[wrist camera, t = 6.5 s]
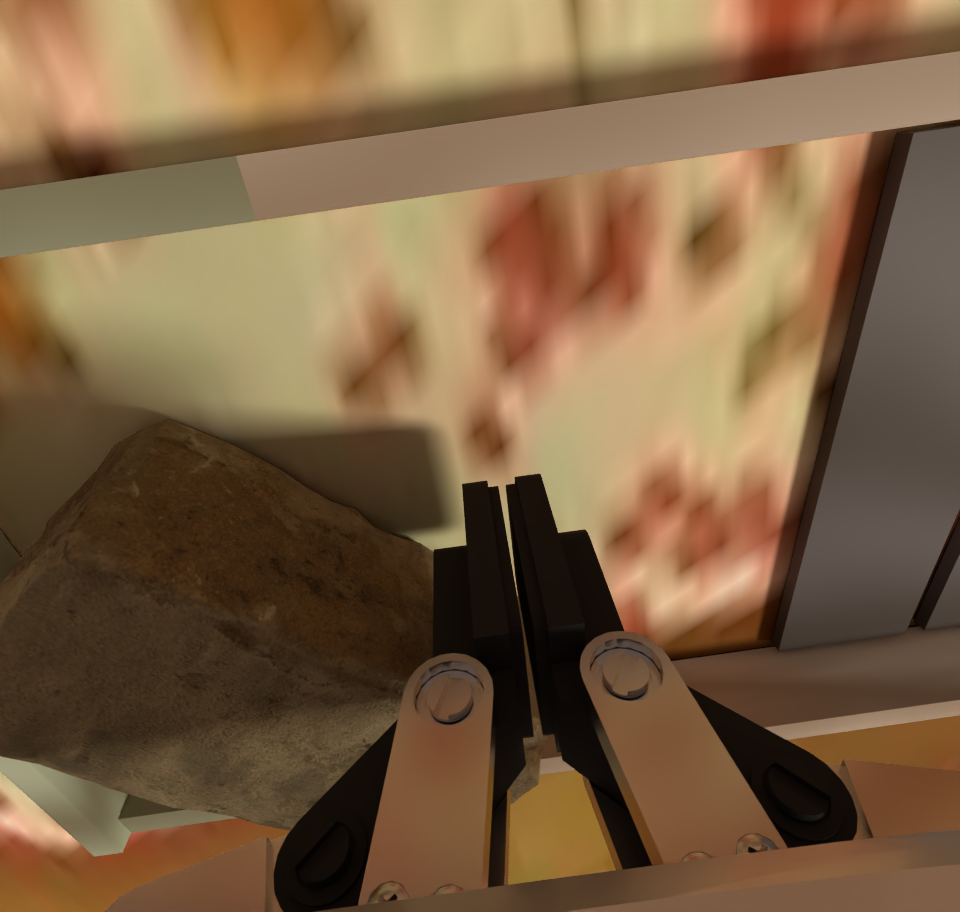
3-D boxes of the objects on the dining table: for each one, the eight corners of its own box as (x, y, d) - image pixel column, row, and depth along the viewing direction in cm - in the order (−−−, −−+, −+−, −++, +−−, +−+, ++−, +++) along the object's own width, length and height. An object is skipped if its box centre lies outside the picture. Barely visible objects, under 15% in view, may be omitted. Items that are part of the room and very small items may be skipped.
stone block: (440, 703, 18) (440, 887, 13) (61, 557, 13) (-115, 754, 9) (554, 595, 15) (598, 773, 11) (141, 381, 11) (-41, 533, 7)
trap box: (1060, 621, 18) (1166, 704, 15) (143, 751, 18) (94, 856, 15) (1481, -23, 9) (1890, -84, 7) (-280, 231, 9) (-554, 269, 7)
